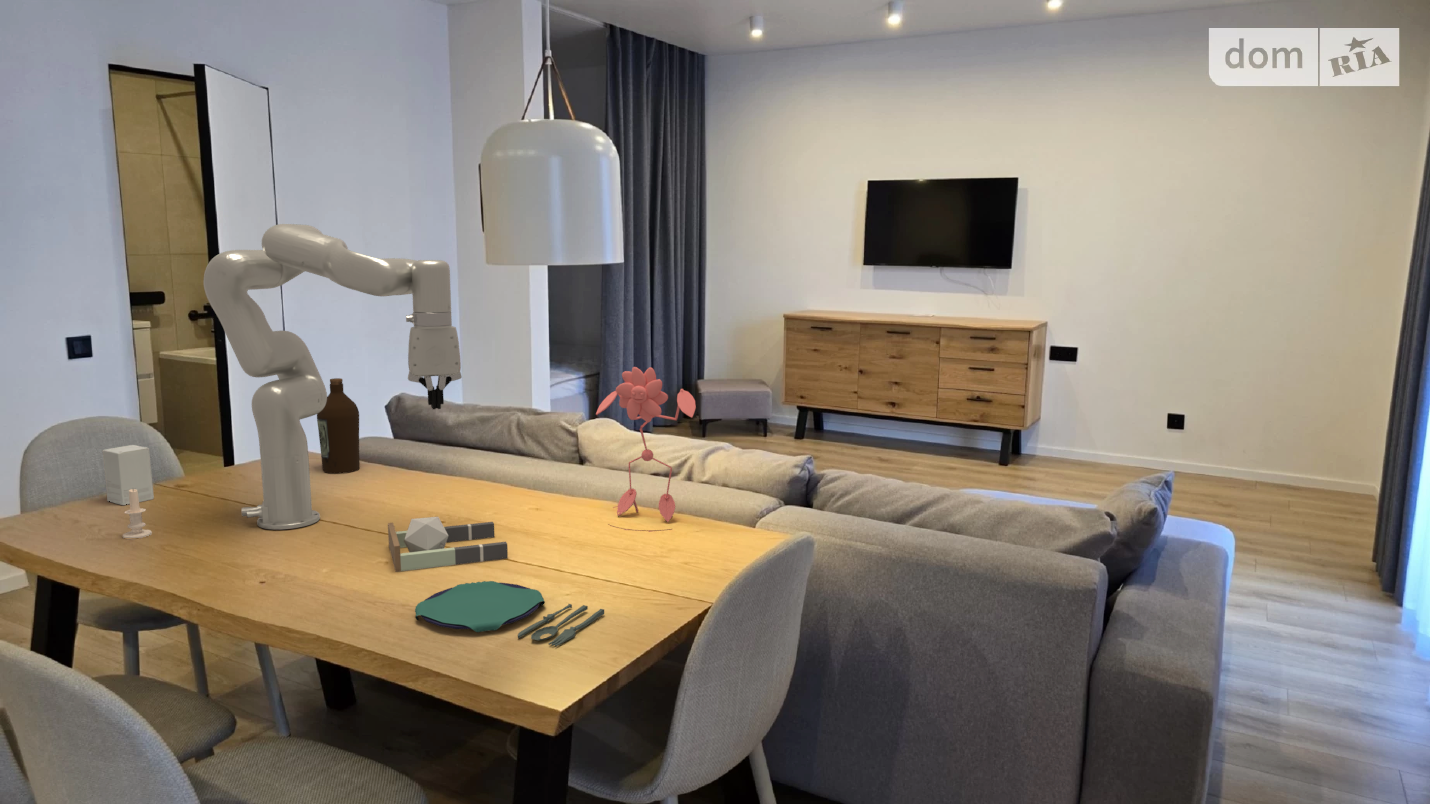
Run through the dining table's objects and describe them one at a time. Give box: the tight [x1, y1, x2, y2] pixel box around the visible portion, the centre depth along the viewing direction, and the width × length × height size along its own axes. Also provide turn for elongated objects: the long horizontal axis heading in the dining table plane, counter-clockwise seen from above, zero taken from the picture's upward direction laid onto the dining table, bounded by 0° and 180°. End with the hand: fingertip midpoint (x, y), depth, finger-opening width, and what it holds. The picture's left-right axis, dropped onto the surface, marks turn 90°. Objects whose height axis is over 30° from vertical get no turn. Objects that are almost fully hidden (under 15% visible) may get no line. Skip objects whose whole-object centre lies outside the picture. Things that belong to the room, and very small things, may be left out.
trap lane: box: [387, 521, 509, 573], centre depth 186 cm, size 21×16×5 cm
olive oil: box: [316, 377, 361, 474], centre depth 251 cm, size 11×11×25 cm
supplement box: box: [101, 444, 155, 506], centre depth 220 cm, size 7×7×13 cm
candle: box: [122, 489, 153, 539], centre depth 194 cm, size 5×5×10 cm
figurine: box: [595, 366, 697, 533], centre depth 205 cm, size 15×26×35 cm, turn 65°
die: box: [404, 516, 448, 553], centre depth 183 cm, size 8×9×10 cm
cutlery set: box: [414, 580, 605, 647], centre depth 154 cm, size 20×30×2 cm, turn 64°
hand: (436, 408), depth 194 cm, fingers closed
